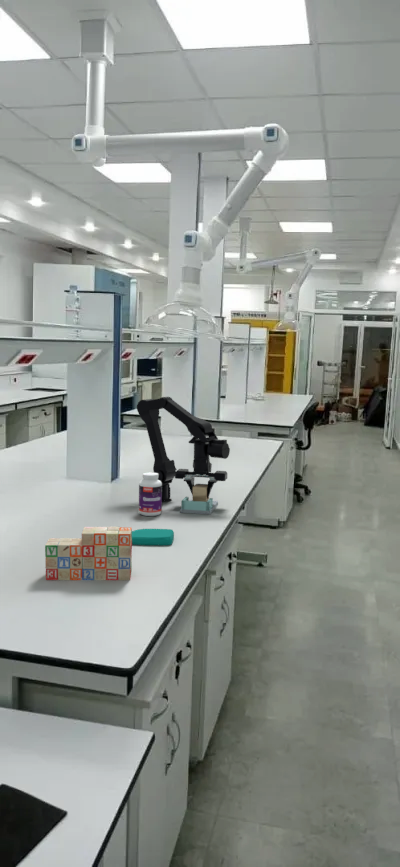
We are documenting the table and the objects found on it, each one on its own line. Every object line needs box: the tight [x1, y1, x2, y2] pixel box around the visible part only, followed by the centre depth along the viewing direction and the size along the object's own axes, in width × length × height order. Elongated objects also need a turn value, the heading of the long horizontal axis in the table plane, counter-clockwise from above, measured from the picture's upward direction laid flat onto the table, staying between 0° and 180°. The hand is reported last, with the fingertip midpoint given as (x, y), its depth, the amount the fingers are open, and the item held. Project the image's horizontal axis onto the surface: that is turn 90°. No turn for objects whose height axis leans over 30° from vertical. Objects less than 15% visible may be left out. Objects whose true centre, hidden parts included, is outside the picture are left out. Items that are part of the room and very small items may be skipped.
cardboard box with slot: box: [192, 483, 210, 502], centre depth 240 cm, size 6×5×6 cm
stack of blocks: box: [44, 526, 133, 581], centre depth 165 cm, size 21×6×12 cm, turn 93°
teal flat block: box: [132, 528, 175, 547], centre depth 198 cm, size 3×11×24 cm
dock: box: [179, 496, 219, 515], centre depth 237 cm, size 15×11×4 cm
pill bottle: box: [138, 471, 163, 517], centre depth 228 cm, size 8×8×14 cm
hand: (200, 497), depth 240 cm, fingers closed on cardboard box with slot, 5 cm apart
